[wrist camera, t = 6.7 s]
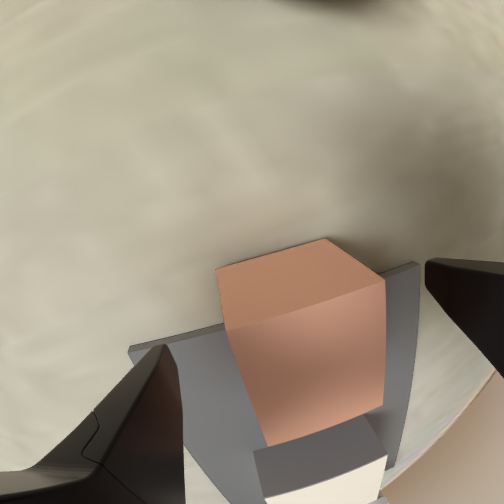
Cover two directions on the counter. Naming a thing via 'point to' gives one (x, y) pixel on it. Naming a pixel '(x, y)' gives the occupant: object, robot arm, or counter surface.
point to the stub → (306, 337)
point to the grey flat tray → (304, 448)
